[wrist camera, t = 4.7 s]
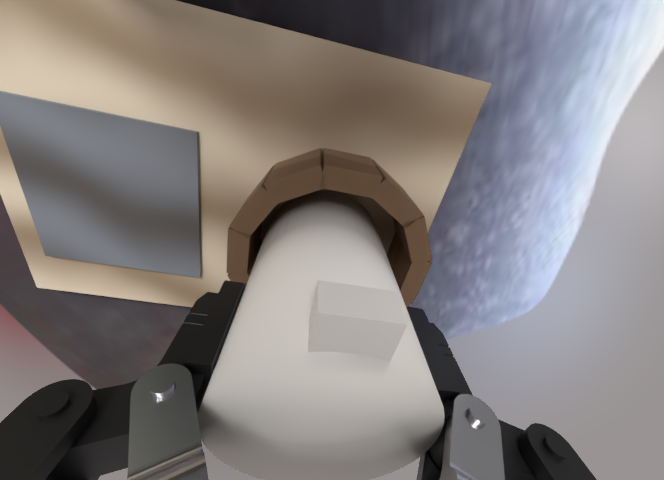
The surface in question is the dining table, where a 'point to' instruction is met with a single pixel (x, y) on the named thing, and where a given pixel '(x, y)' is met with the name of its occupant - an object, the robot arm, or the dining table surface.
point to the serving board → (207, 143)
